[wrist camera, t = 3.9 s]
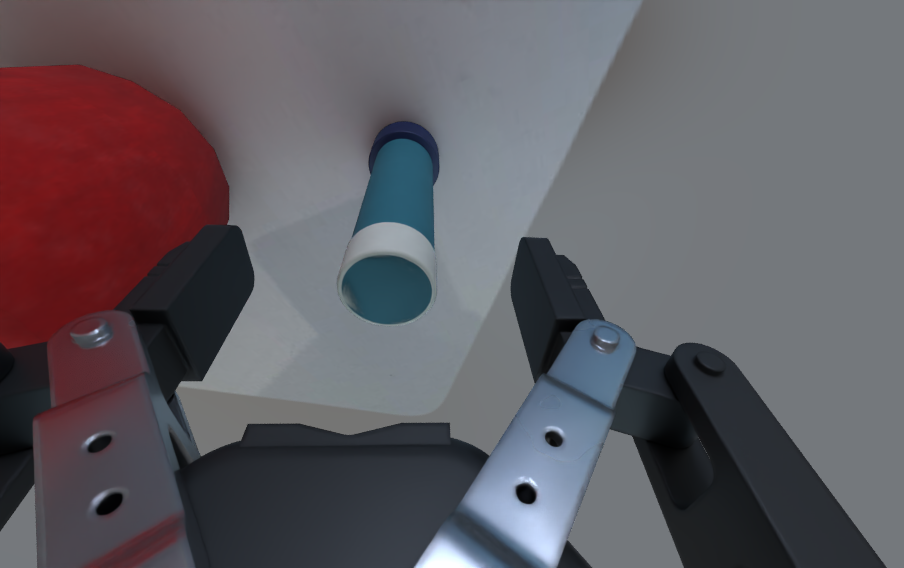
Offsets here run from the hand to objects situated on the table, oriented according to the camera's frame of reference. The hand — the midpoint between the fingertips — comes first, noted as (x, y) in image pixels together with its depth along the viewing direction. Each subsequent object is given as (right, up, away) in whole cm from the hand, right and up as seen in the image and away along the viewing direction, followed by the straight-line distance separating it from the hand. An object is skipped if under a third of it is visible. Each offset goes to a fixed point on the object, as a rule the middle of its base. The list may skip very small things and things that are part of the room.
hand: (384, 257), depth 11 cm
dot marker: (0, +5, +7) cm, 9 cm away
